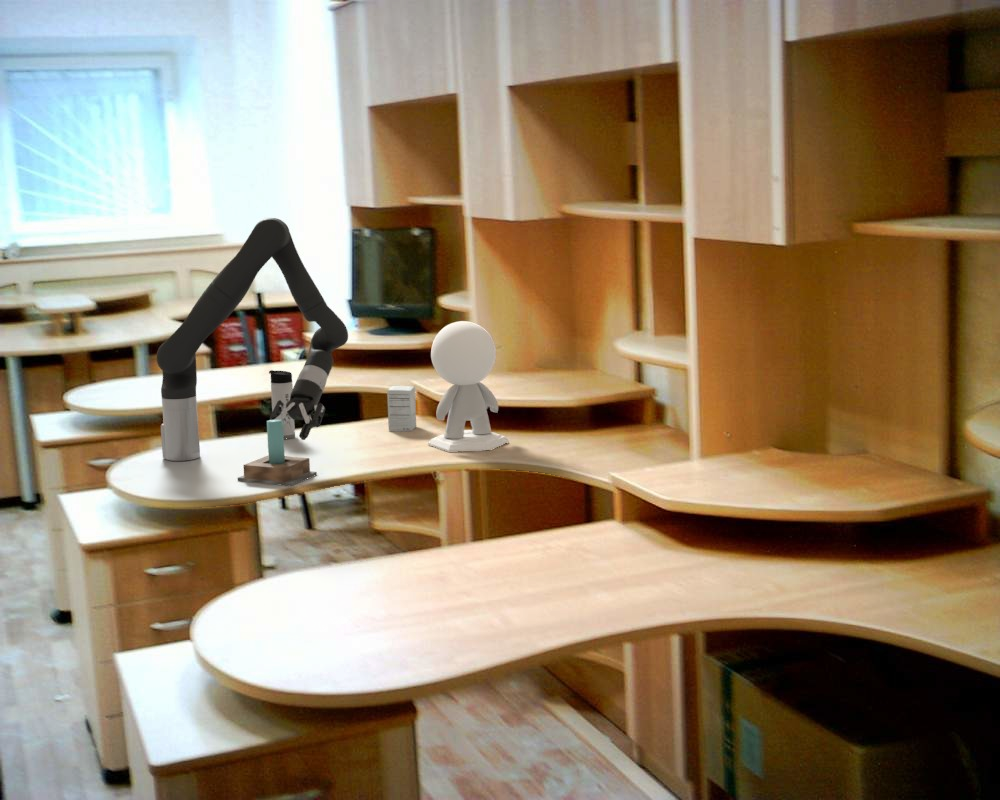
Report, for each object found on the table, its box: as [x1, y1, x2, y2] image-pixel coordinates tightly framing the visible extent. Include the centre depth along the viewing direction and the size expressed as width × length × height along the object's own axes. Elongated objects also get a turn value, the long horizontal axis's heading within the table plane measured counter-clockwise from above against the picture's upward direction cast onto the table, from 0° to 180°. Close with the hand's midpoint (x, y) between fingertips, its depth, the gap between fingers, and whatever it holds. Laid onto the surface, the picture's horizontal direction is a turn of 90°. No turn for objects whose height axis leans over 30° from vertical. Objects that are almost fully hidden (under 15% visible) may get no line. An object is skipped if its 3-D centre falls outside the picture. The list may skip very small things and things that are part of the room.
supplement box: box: [386, 385, 417, 432], centre depth 378 cm, size 7×7×13 cm
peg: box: [266, 419, 286, 465], centre depth 320 cm, size 4×4×14 cm
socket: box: [237, 454, 318, 487], centre depth 321 cm, size 16×12×4 cm
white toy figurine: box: [427, 320, 510, 453], centre depth 354 cm, size 20×23×35 cm
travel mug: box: [268, 369, 296, 440], centre depth 369 cm, size 6×7×20 cm
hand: (287, 437), depth 325 cm, fingers open, 8 cm apart
